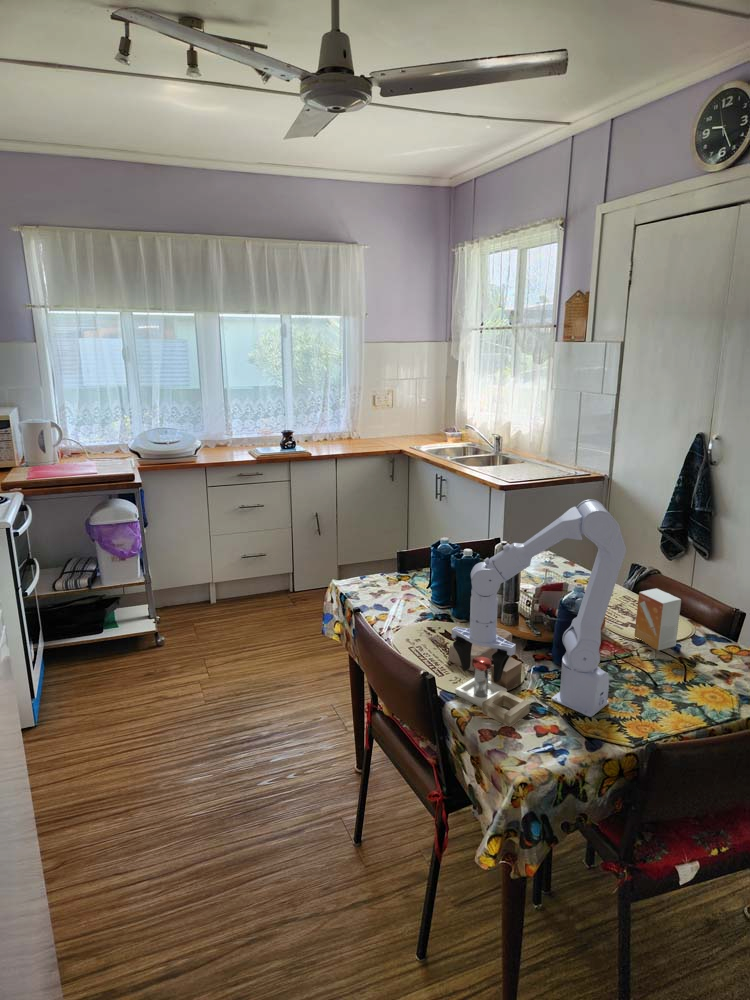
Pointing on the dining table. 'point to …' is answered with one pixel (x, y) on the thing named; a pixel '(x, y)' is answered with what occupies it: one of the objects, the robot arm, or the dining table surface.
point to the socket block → (495, 711)
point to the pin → (481, 676)
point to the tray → (468, 692)
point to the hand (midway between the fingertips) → (481, 674)
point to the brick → (478, 650)
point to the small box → (657, 618)
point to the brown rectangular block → (509, 674)
